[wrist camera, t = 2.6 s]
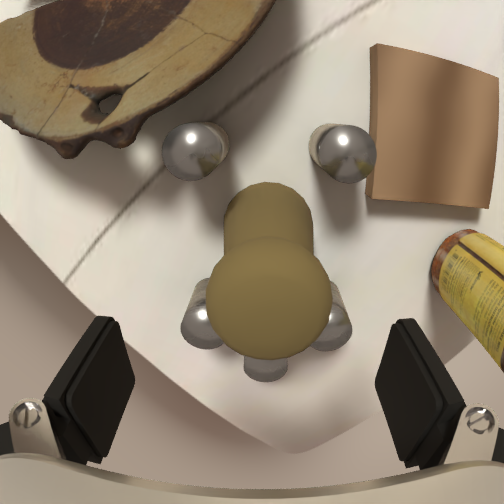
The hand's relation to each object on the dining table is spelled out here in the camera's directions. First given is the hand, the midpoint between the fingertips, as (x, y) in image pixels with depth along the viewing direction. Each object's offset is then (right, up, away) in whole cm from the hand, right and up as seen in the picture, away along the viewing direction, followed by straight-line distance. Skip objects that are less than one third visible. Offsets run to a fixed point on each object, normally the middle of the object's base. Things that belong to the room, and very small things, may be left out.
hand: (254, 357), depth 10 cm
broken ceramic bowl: (-8, +25, +4) cm, 26 cm away
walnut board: (+12, +12, +8) cm, 19 cm away
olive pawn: (+1, +5, +12) cm, 13 cm away
